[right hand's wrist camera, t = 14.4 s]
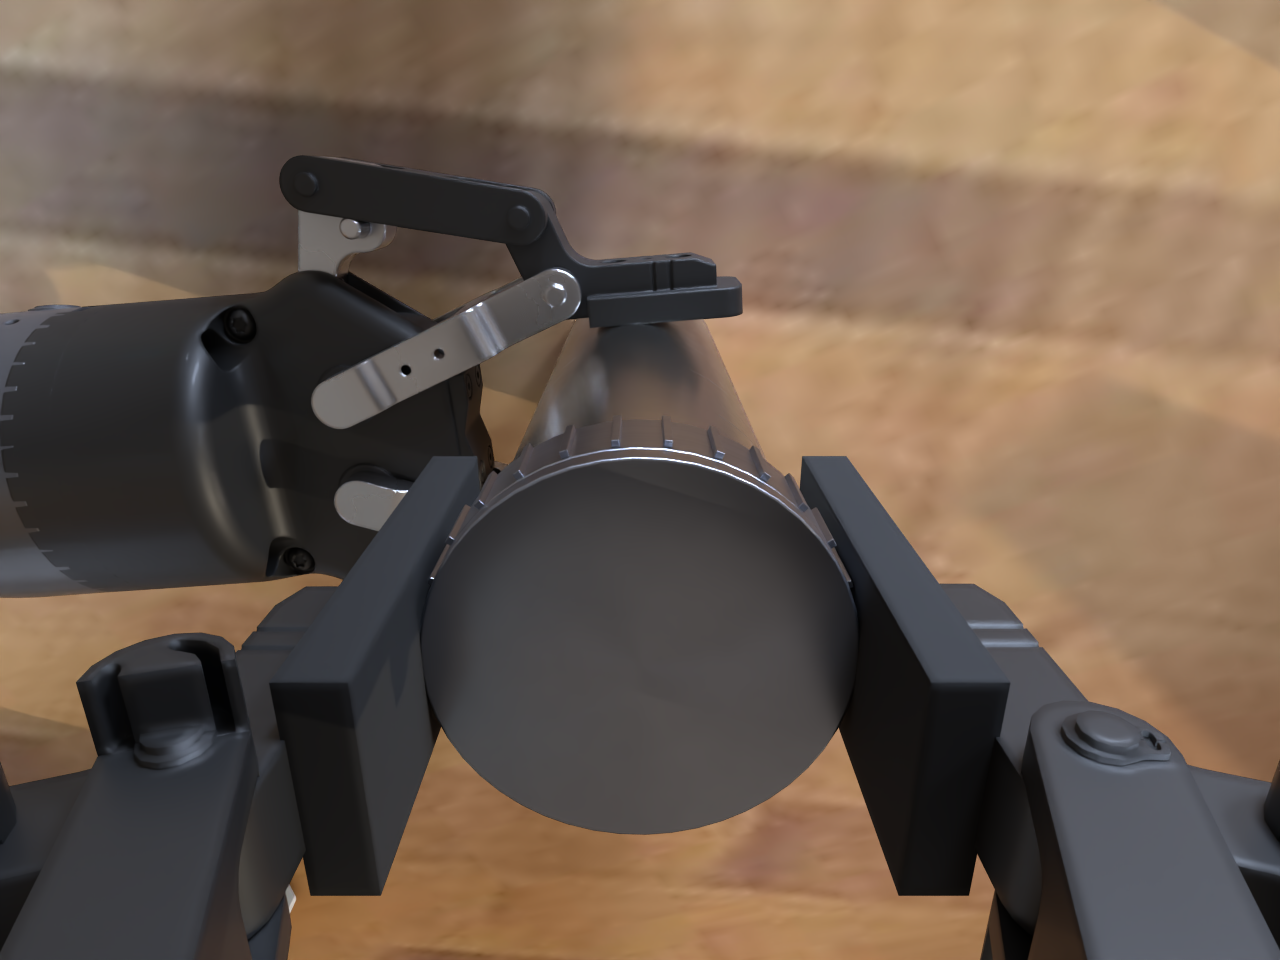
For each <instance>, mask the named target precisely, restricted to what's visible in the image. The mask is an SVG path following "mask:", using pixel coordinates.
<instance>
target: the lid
mask: <svg viewBox="0 0 1280 960" xmlns="http://www.w3.org/2000/svg"><path fill="white" fill-rule="evenodd" d="M445 543H446V546H445V548H444V550H443V552H442V554H441V556H440V558H439V560H438V561H437V563H436V565H435V567H434V569H433V571H432V573H431V575H430V577H429V580H428V584H429V585H431V587H430V590H429V592H428V595H427V599H426V603H425V607H424V611H423V615H422V620H421V632H420V646H421V655H422V665H423V673H424V681H425V687H426V692H427V695H428V698H429V700H430V703H431V705H432V708H433V711H434V713H435V716H436V718H437V720H438V721H439V723H440V725H441V727H442V729H443V730H444V732H445V734H446V736H447V738H448V739H449V740H450V742H451V743H452V744H453V746H454V747H455V748H456V750H457V751H458V752H459V754H460V755H461V756H462V758H463V759H464V760H465V761H466V762H467V763H468V764H469V765H470V766H471V767H472V768H473V769H474V770H475V771H476V772H477V773H478V774H479V775H480V776H481V777H482V778H484V779H485V780H486V781H487V782H489V783H490V784H491V785H492V786H494V787H495V788H496V789H497V790H499V791H500V792H501V793H503V794H505V795H506V796H508V797H509V798H511V799H513V800H514V801H516V802H517V803H519V804H521V805H523V806H525V807H527V808H529V809H531V810H533V811H535V812H537V813H539V814H541V815H543V816H546V817H549V818H552V819H555V820H557V821H560V822H563V823H566V824H569V825H573V826H577V827H581V828H586V829H590V830H594V831H602V832H610V833H617V834H644V835H646V834H660V833H673V832H678V831H684V830H689V829H695V828H699V827H703V826H706V825H710V824H713V823H717V822H720V821H723V820H726V819H728V818H731V817H733V816H736V815H738V814H741V813H743V812H745V811H747V810H749V809H751V808H753V807H755V806H757V805H759V804H760V803H762V802H764V801H766V800H768V799H769V798H771V797H772V796H774V795H775V794H777V793H778V792H779V791H781V790H782V789H784V788H785V787H787V786H788V785H789V784H791V783H792V782H793V781H794V780H795V779H796V778H797V777H798V776H799V775H801V774H802V773H803V772H804V771H805V770H806V769H807V768H808V767H809V766H810V765H811V764H812V763H813V762H814V760H815V759H816V758H817V757H818V756H819V755H820V753H821V752H822V751H823V750H824V749H825V747H826V746H827V744H828V743H829V741H830V740H831V738H832V737H833V735H834V734H835V732H836V731H837V729H838V727H839V725H840V723H841V721H842V719H843V717H844V715H845V713H846V711H847V708H848V706H849V703H850V700H851V697H852V693H853V690H854V686H855V677H856V669H857V661H858V651H859V641H860V630H859V624H858V617H857V610H856V606H855V603H854V600H853V597H852V593H851V590H850V588H852V587H853V584H852V580H851V578H850V576H849V575H848V573H847V571H846V569H845V567H844V565H843V563H842V561H841V559H840V557H839V555H838V553H837V551H836V549H835V548H834V547H835V546H837V545H836V543H835V541H834V539H833V537H832V535H831V533H830V531H829V530H828V528H827V526H826V524H825V522H824V520H823V518H822V516H821V514H820V513H819V511H818V509H817V508H816V507H815V508H813V509H812V510H811V509H810V508H809V506H808V505H807V503H806V501H805V499H804V497H803V495H802V493H801V491H800V489H799V487H798V485H797V483H796V481H795V479H794V478H793V477H792V475H791V474H790V473H788V474H787V475H786V476H785V477H784V475H783V474H782V473H781V472H779V471H778V470H777V469H776V468H774V467H773V466H772V465H771V464H770V463H768V462H767V461H766V460H765V459H763V457H762V455H761V452H760V450H759V449H758V448H757V447H755V446H752V447H751V448H750V450H749V449H748V448H746V447H744V446H743V445H741V444H740V443H737V442H735V441H733V440H731V439H728V438H726V437H724V436H722V435H719V433H718V430H717V428H716V427H713V426H709V429H708V430H705V429H701V428H698V427H695V426H691V425H687V424H681V423H675V422H671V419H670V416H662V420H639V419H632V420H622V416H621V415H617V416H613V421H610V422H603V423H599V424H594V425H590V426H585V427H581V428H577V429H575V427H574V425H570V426H567V427H566V430H565V433H564V434H561V435H558V436H555V437H553V438H551V439H549V440H547V441H545V442H543V443H541V444H539V445H537V446H535V447H532V445H531V444H528V445H526V446H525V447H524V448H523V450H522V453H521V455H520V457H518V458H517V459H516V460H514V461H513V462H511V463H510V464H509V465H507V466H506V467H505V468H504V469H503V470H502V471H501V472H500V473H499V474H497V473H495V472H494V471H492V472H491V473H490V474H489V475H488V477H487V479H486V481H485V483H484V485H483V487H482V489H481V491H480V493H479V495H478V497H477V498H476V500H475V501H474V503H473V504H472V506H471V507H469V506H468V505H465V506H464V507H463V509H462V511H461V513H460V515H459V517H458V518H457V520H456V522H455V524H454V526H453V528H452V530H451V532H450V534H449V535H448V537H447V539H446V541H445Z"/></svg>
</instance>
